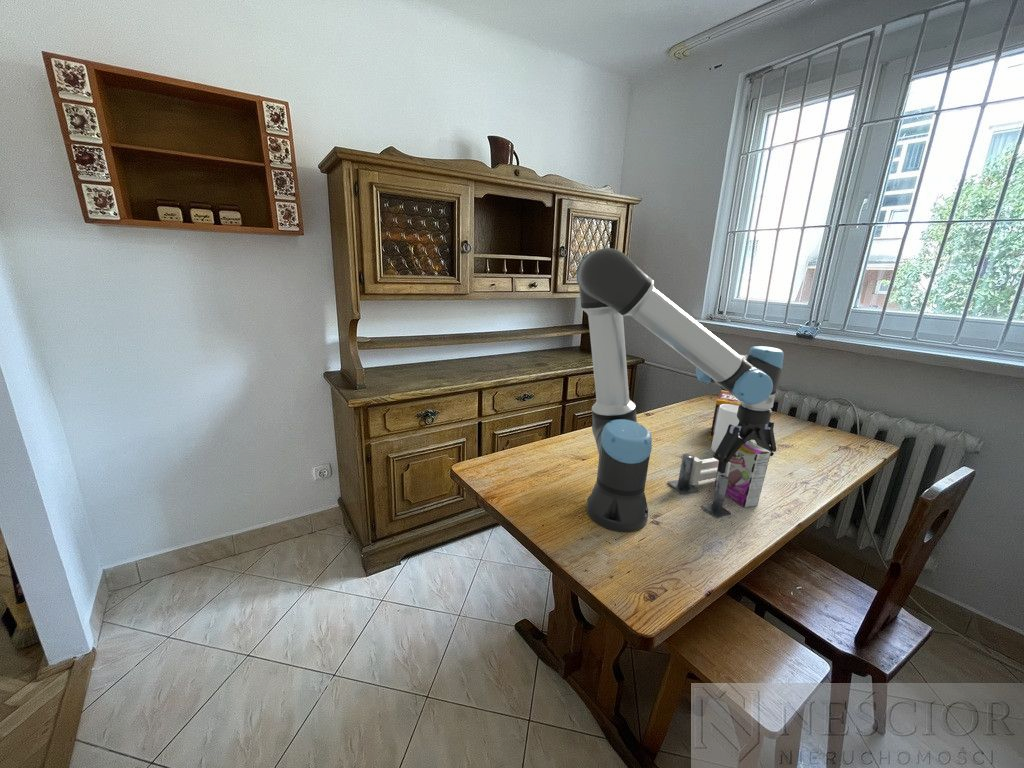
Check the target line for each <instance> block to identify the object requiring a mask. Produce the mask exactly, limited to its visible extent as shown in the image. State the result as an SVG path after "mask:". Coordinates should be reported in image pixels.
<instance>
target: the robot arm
mask: <svg viewBox="0 0 1024 768" xmlns="http://www.w3.org/2000/svg"><path fill="white" fill-rule="evenodd" d="M576 283H577V284H578V287H579V288H578V289H579V297H580V298H579V299H580V300H579V301H580V308H581V310H582V311H584V313H586V315H587V317H588V327H589V337H590V348H591V358H592V368H593V376H594V377H593V378H594V390H595V399H596V401H595V403H593V405H592V406H591V415H592V416H591V417H592V424H591V428H592V429H591V430H592V435H593V437H594V440H595V444H596V448H597V451H598V452H597V453H598V463H597V464H598V466H597V472H596V473H597V474H596V481H595V484H594V486H593V488H592V491H591V493H590V494H589V496H587V497H588V498H587V501H586V513H587V515H588V517H589V518H590V519H591V520H592V521H593V522H594V523H596V524H597V525H599V526H601V527H603V528H605V529H608V530H611V531H615V532H620V533H621V532H624V533H628V532H629V533H630V532H631V533H632V532H636V531H639V530H641V529H643V528H644V527H646V525H647V523H648V519H649V507H648V503H647V502H648V501H647V497H646V493H645V488H646V483H647V477H648V476H647V475H648V469H649V465H650V463H649V462H650V458H651V453H652V449H653V444H652V441H653V440H652V439H653V438H652V437H653V436H652V434H651V432H650V430H649V429H648V428H647V427H646V426H644V425H643V424H640V423H639V422H638V421H637V420H638V419H637V418H638V417H637V408H636V403H635V402H633V401H632V400H631V399H630V390H629V379H628V365H627V352H626V340H625V338H626V337H625V326H624V317H627V316H629V317H632V318H633V319H634V320H635V321H636V322H638V323H639V324H641V325H642V326H643V327H645V328H646V329H647V330H648V331H650V332H651V333H652V334H654V335H655V336H656V337H657V338H659V339H660V340H661V341H663V342H664V343H665V344H666V345H668V346H669V347H670V348H672V349H673V350H674V351H676V353H678V354H680V356H682V357H683V358H684V359H686V360H687V361H689V362H690V363H691V364H692V365H694V366H695V374H696V375H695V376H696V379H697V380H698V381H700V382H701V383H708V384H717V385H718V386H720V387H721V388H722V389H724V391H728V392H729V393H731V394H732V395H733V396H735V397H736V398H737V399H738V400H739V401H740V403H741V404H740V405H739V407H738V412H737V418H738V419H739V423H738V425H737V426H733V425H731V424H730V425H729V426H728V429H727V432H726V434H725V436H724V438H723V440H722V441H721V443H720V445H719V447H718V448H717V450H716V452H714V454H713V456H712V458H715V459H717V460H719V463H718V467H717V468H718V469H717V470H718V473H717V479H716V478H715V479H716V481H717V480H718V476H719V475H725V476H727V477H728V475H729V470H730V465H731V463H730V462H729V461H730V459H731V458H732V457H733V456H734V454H735V453H736V452H737V451H738V449H739V448H740V447H741V446H742V444H745V443H746V442H747V441H754V443H755V444H757V445H759V446H761V447H763V448H765V449H767V450H768V451H770V452H771V454H770V457H773V456H774V454H775V453H776V451H777V444H776V437H775V432H774V428H775V427H774V426H775V423H774V421H771V417H772V414H773V413H772V412H773V411H772V409H773V407H774V402H775V398H776V394H777V389H778V387H779V386H778V385H779V381H780V378H781V373H782V369H783V365H784V357H785V353H784V351H783V350H782V349H780V348H777V347H771V346H765V345H764V346H763V345H758V346H755V345H754V346H751V347H750V348H749V352H748V354H745V353H744V354H740V353H738V352H737V351H735V350H734V349H732V347H730V346H729V345H728V344H726V343H725V342H724V341H723V340H721V339H720V338H719V337H717V336H716V335H715V334H714V333H712V332H711V331H710V330H708V329H707V328H706V327H704V326H703V324H701V323H700V322H698V321H697V320H696V319H695V318H694V317H692V316H691V315H690V314H689V313H687V312H686V311H685V310H684V309H682V308H681V307H679V306H678V305H677V304H676V303H675V302H673V301H672V300H671V299H670V298H668V297H667V296H666V295H664V293H662V292H661V291H659V289H656V287H655V285H654V283H655V281H654V279H652V277H650V276H649V275H648V274H646V273H645V272H644V271H643V270H642V269H641V268H640V267H639V266H637V264H635V262H634V261H633V260H631V258H629V256H627V255H626V254H625V253H623V251H621V250H619V249H616V248H611V247H607V248H605V247H604V248H600V249H599V248H598V249H597V250H593V251H591V252H589V253H588V254H586V255H585V256H584V257H583V258H582V259H581V261H580V262H579V264H578V266H577V269H576ZM738 436H740V438H739V437H738ZM741 438H742V439H741Z"/></svg>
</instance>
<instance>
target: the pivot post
mask: <svg viewBox="0 0 1024 768" xmlns="http://www.w3.org/2000/svg"><path fill="white" fill-rule="evenodd" d="M694 457H695V455H693V454H690V453H683V454H682V457H681V458H682V459H681V463H680V469H679V475H678V479H677V480H671V481H667V485H668V486H670V487H671V488H672V489H674V490H675V491H676V492H677V493H679V494H681V495H682V496H683V495H686V494H687V495H688V494H692V493H696V492H697V493H698V492H700V489H699V488H698V487H696V485H691V484H690V478H691V473H692V467H693V462H694Z"/></svg>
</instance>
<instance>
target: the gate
mask: <svg viewBox="0 0 1024 768" xmlns="http://www.w3.org/2000/svg"><path fill="white" fill-rule="evenodd" d="M718 463H719V460H717V459H715V458H713V457H712V458H705V459H700V458H698V457H697V456H694V462H693V467H692V473H691V478H690V484H691V485H693V486H697V485H699V482H701V481H707V480H711V479H716V475H717V469H718Z"/></svg>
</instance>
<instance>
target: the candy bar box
mask: <svg viewBox="0 0 1024 768" xmlns="http://www.w3.org/2000/svg"><path fill="white" fill-rule="evenodd" d="M738 437H739V438H740V436H738ZM741 439H742V438H741ZM770 454H771V452H770V451H768V450H767V449H765V448H763V447H761V446H759V445H757V444H756V442H753V441H752V440H750V441H747V442H746V443H745V444H742V446H741V447H740V448H739V449H738V451H737V452H736V453H735V454H734V456H733V457H732V458H731V459H730V461H729V462H730V463H731V465H730V470H729V475H728V478H729V480H728V485H727V489H726V494H725V496H727V497H729V499H731V500H733V501H734V502H735V503H737V504H738V505H740V506H741V507H742V508H751V507H757V506H758V505H759V502H760V498H761V493H762V489H763V486H764V481H765V479H766V478H765V477H766V473H767V470H768V465H769V461H770V458H771V456H770ZM717 473H718V470H717ZM714 479H715V480H714V485H713V487H714V488H716V485H717V481H716V479H717V475H716V478H714Z"/></svg>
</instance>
